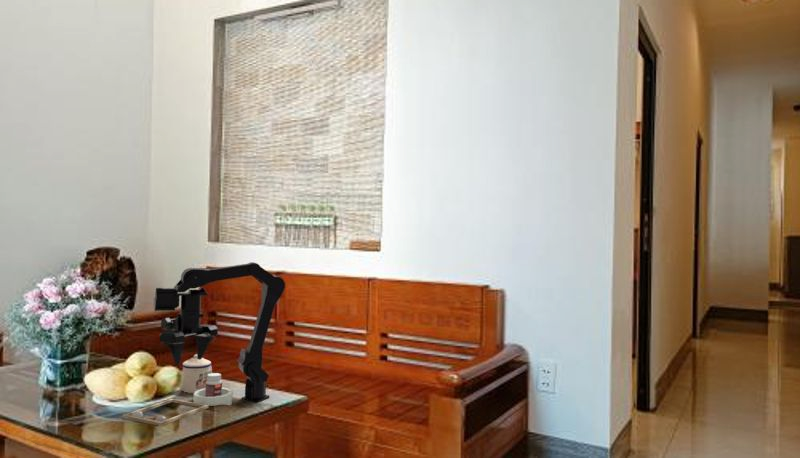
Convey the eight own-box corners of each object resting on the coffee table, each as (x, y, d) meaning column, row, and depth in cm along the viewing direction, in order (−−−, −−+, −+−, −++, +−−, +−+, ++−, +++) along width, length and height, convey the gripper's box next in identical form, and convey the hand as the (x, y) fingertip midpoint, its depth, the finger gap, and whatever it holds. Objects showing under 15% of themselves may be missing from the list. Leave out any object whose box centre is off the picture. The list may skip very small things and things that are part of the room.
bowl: (211, 397, 187) (211, 385, 187) (239, 402, 183) (239, 390, 183) (185, 407, 177) (186, 394, 177) (214, 412, 173) (215, 399, 173)
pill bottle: (216, 405, 177) (217, 376, 178) (202, 403, 178) (202, 375, 179) (224, 400, 182) (225, 373, 182) (210, 399, 183) (211, 372, 183)
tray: (171, 405, 178) (172, 398, 178) (208, 412, 173) (208, 405, 173) (121, 423, 162) (122, 415, 162) (160, 431, 156) (160, 423, 156)
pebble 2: (160, 424, 162) (161, 413, 162) (169, 426, 161) (169, 415, 161) (152, 427, 159) (152, 416, 159) (160, 429, 158) (160, 418, 158)
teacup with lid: (198, 395, 190) (199, 358, 190) (175, 391, 193) (176, 356, 193) (221, 386, 201) (222, 351, 201) (199, 383, 204) (200, 349, 204)
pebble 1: (137, 419, 165) (137, 408, 165) (145, 421, 164) (145, 410, 164) (128, 422, 162) (129, 411, 162) (136, 424, 161) (137, 413, 161)
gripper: (192, 305, 190) (190, 353, 190) (146, 311, 173) (144, 364, 173) (219, 307, 186) (217, 357, 186) (175, 314, 169) (173, 369, 169)
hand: (188, 362), depth 178 cm, fingers open, 9 cm apart
